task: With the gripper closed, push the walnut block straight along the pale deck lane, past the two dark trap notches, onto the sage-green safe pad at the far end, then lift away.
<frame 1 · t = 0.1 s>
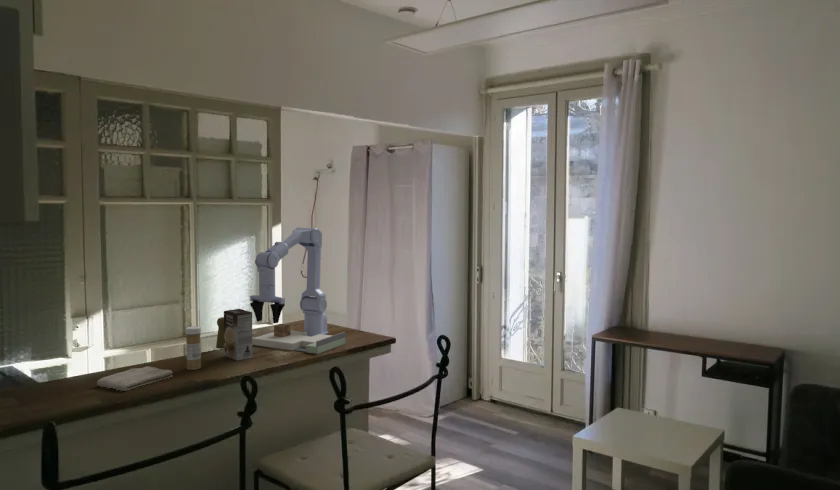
hand: (267, 321, 219), 10 cm above the worktop, fingers open, 7 cm apart
coffee box: (238, 357, 208), on the worktop
trap deck: (299, 344, 227), on the worktop
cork: (224, 347, 223), on the worktop
sprinkles bottle: (193, 369, 193), on the worktop
walnut block: (282, 335, 231), point 2 cm above the worktop, touching trap deck
washcloth: (137, 383, 178), on the worktop
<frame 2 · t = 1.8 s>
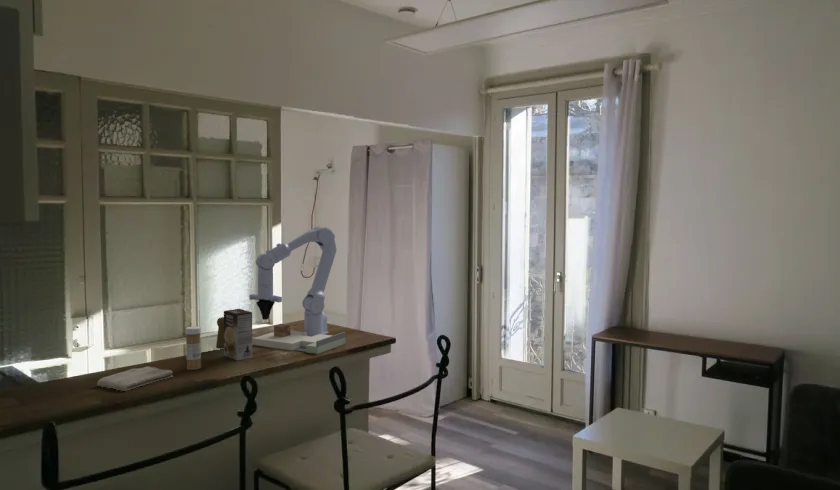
hand: (265, 319, 234), 8 cm above the worktop, fingers closed
nothing on the worktop moved.
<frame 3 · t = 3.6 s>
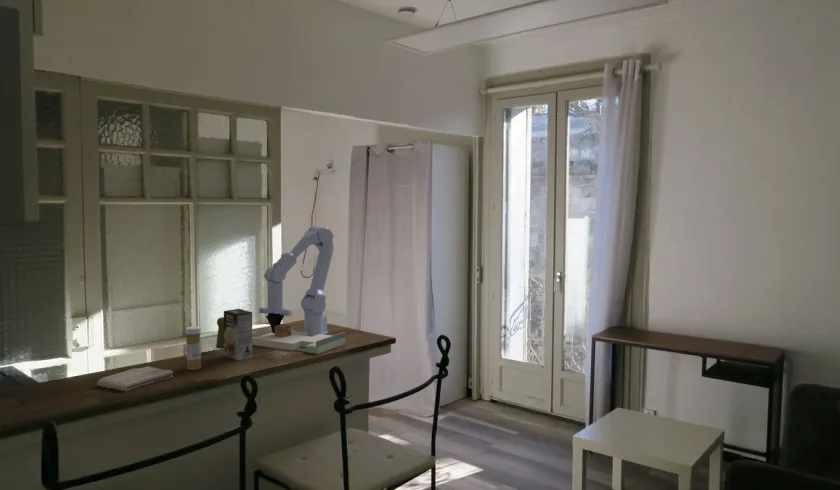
hand: (275, 332, 232), 3 cm above the worktop, fingers closed
walnut block: (282, 335, 230), point 3 cm above the worktop, touching gripper
everything else where it was.
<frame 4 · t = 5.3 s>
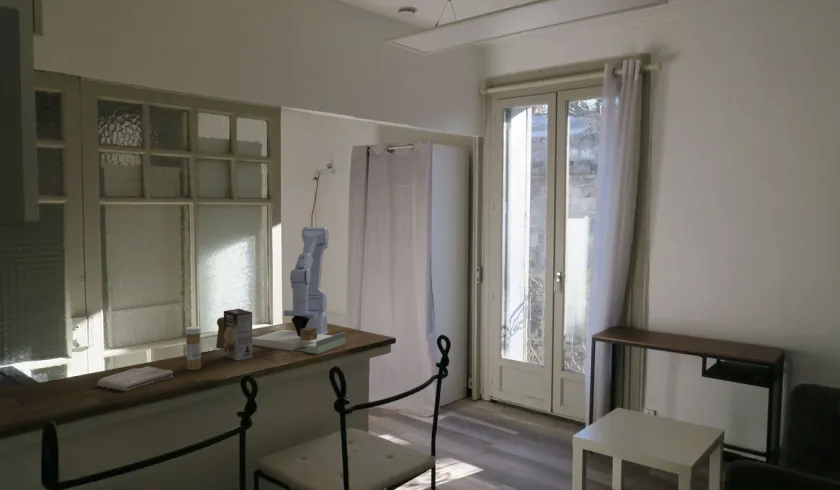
hand: (300, 336, 227), 3 cm above the worktop, fingers closed
walnut block: (308, 338, 225), point 3 cm above the worktop, touching gripper
everything else where it was.
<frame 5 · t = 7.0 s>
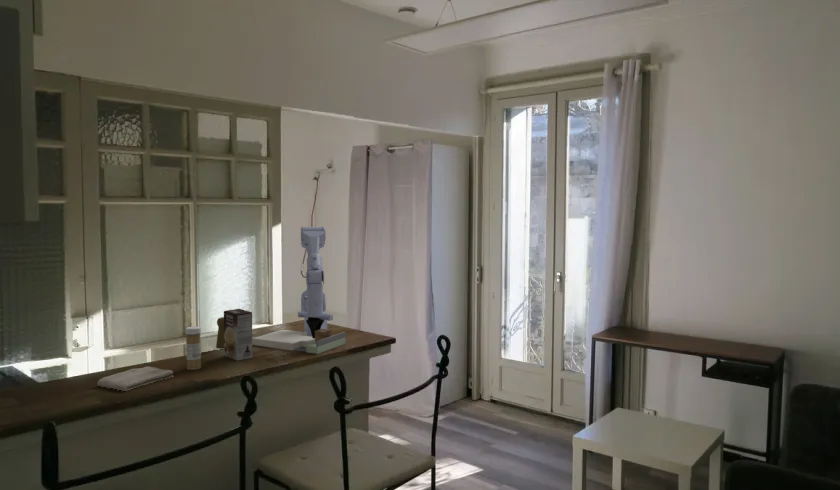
hand: (315, 337, 224), 3 cm above the worktop, fingers closed
walnut block: (323, 340, 222), point 2 cm above the worktop, touching gripper, trap deck
everything else where it was.
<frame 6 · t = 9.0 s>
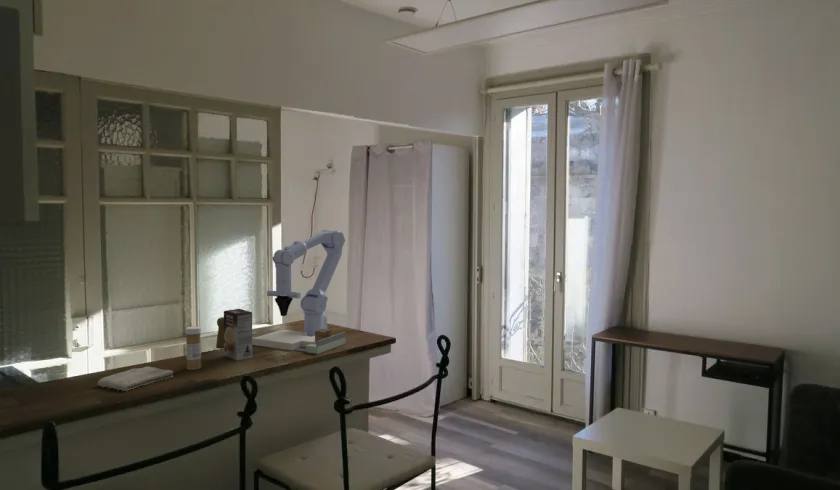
hand: (283, 315, 232), 10 cm above the worktop, fingers closed
walnut block: (323, 340, 222), point 2 cm above the worktop, touching trap deck
everything else where it was.
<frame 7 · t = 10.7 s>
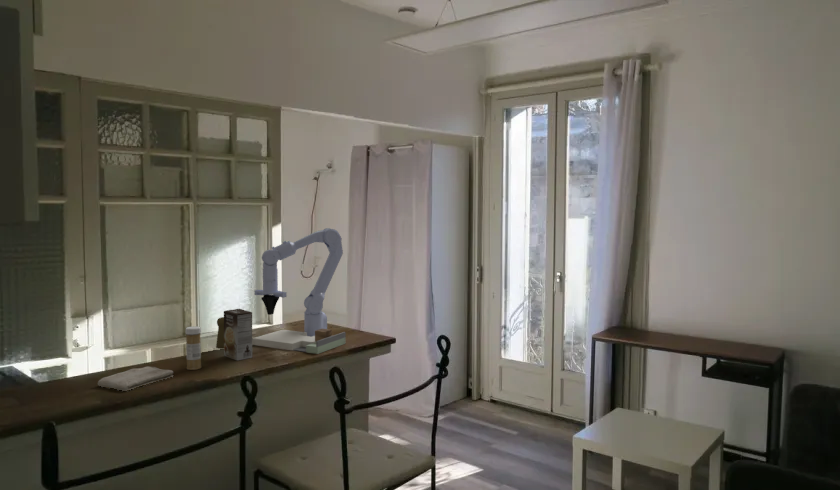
hand: (270, 314, 238), 9 cm above the worktop, fingers closed
nothing on the worktop moved.
at the end: walnut block 0.6 cm from the target spot, point 2.5 cm above the worktop; walnut block tilted 0°; walnut block moved 19.2 cm from its start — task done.
